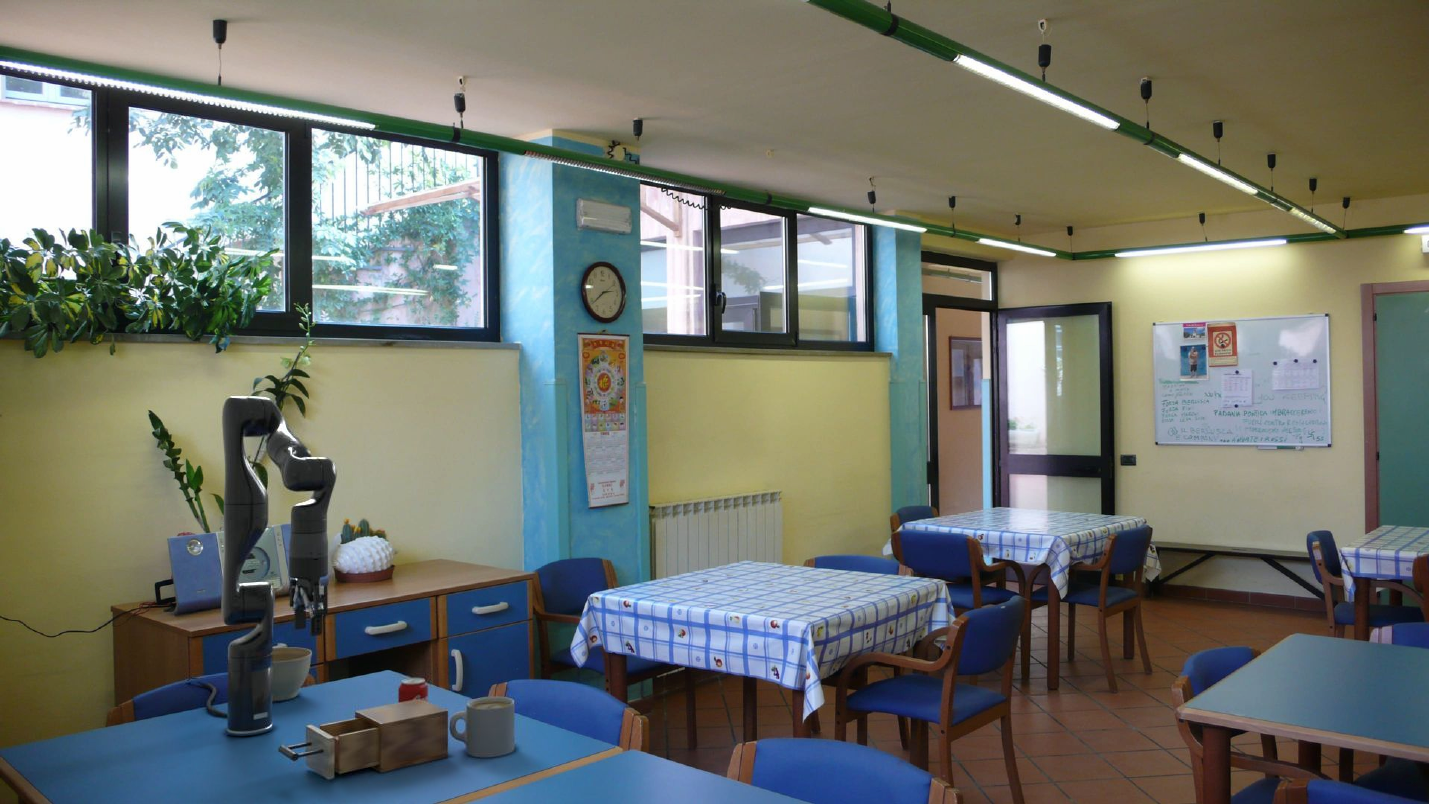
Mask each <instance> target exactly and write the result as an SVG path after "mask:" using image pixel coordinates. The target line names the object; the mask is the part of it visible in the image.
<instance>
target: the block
mask: <svg viewBox="0 0 1429 804" xmlns="http://www.w3.org/2000/svg"><path fill="white" fill-rule="evenodd" d="M334 761H336V762H337V763H338V736H335V746H334Z"/></svg>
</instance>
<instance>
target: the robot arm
mask: <svg viewBox="0 0 1429 804" xmlns="http://www.w3.org/2000/svg"><path fill="white" fill-rule="evenodd" d="M221 423H222V424H221V426H222V427H221V428H222V441H223V454H224V491H223V492H224V494H223V496H224V497H223V541H224V542H223V545H224V546H223V547H224V556H223V557H224V558H223V559H224V560H223V573H222V574H223V575H222V589H221V604H220V605H221V607H220V609H221V610H220V611H221V618H222V621H223V623H224V624H225V625H226V626H244V625H245V626H246V625H254V624H256V626H255V628H254V629H252V630H251V631H250V632H248V633H247V634H245V635H243V636H241V637H238V638H237V639H234V640H232V641H231V642H230V643H229V644H228V648H227V713H226V712H223V711H220V710H217V709H216V708H213V707H212V702H213V700H215V697H216V694H217V688H216V687H215V686H214V685H212V684H211V683H208V682H207V683H208V684H204V683H200V682H197V684H200V685H202V686H204V687H206V688H209V689H210V690H211V691H212V692H211V694H210V696H209V698H208V699H207V701H206V709H207V711H209V712H210V713H212V714H213V715H215V716H218V717H221V718H227V719H226V720H227V721H226V722H227V723H226V726H227V727H226V734H227V735H229V736H233V737H250V736H257V735H262V734H265V733H268V732H270V731H271V730H273V701H272V683H273V648H274V620H275V619H274V618H275V605H276V595H275V594H276V593H275V588H274V586H273V584H272V583H271V582H270V581H256V582H255V581H253V582H242V583H240V582H239V581H240V580H239V579H240V576H241V572H242V570H243V567H244V565H245V563H246V561H247V559H248V557H249V555H250V554H251V553H252V550H253V549H255V547H256V545H257V544H258V543H259V541H260V540H261V538H262V536H263V534H264V533H265V531H266V530H267V528H268V525H269V509H270V508H269V504H270V503H269V501H270V500H269V499H270V498H269V493H268V490H267V488H266V486H265V484H264V483H263V481H262V480H261V478H260V477H259V476H258V475H257V474H258V473H256V471H255V470H254V468H253V467H252V465H251V463H250V462H249V459H248V457H247V453H246V450H245V443H244V442H245V441H244V438H263V437H267V439H266V442H265V452H266V454H267V456H268V458H269V459H270V460H271V462H272V463H273V464H274V465H275V466H276V467H277V468H278V469H279V473H280V475H281V480H282V484H283V486H284V487H285V488H286V489H287V490H289V491H290V492H294V493H305V492H313V493H312V495H311V497H310V499H308V500H306V501H304V502H303V501H302V502H300V503H297V504H294V505H293V506H292V507H291V509H290V510H291V511H290V536H289V544H288V545H289V546H288V550H289V551H288V577H290V581H289V607H290V608H292V611H293V612H294V613H293V615H294V616H293V622H294V623H293V628H294V630H297V631H298V630H304V629H306V627H307V609H308V612H309V616H310V617H309V634H310V636H312V637H316V636H318V637H319V636H322V634H323V617H324V616H327V615H328V613H329V603H328V585H327V584H321V579H322V578H324V577H325V578H326V576H328V574H329V540H328V539H329V538H328V510H329V506H330V504H331V498H332V495H333V491H334V489H335V485H336V482H337V476H338V475H337V473H338V472H337V468H336V465H335V463H334V461H333V460H332V459H330V458H328V457H325V456H324V457H323V456H322V457H321V456H319V457H317V456H316V457H313V456H312V453H311V451H310V449H309V448H308V447H307V446H306V445H305V444H304V443H303V442H302V441H301V440H300V439H299V438H298V437H297V436H296V435H295V434H294V433H293V431H292V429H291V428H290V425H289V424H288V422H287V420H286V418H285V416H284V415H283V413H282V411H281V410H280V408H279V406H278V405H277V404H276V402H274V401H273V400H272V399H271V398H269V397H265V396H234V395H233V396H228V397H227V398H226V400H225V401H224V404H223V406H222V413H221ZM190 679H200V678H198V677H194V676H192V677H190V678H188V679H187V680H186V682H187V681H189V680H190Z"/></svg>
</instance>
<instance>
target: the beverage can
mask: <svg viewBox="0 0 1429 804" xmlns="http://www.w3.org/2000/svg"><path fill="white" fill-rule="evenodd" d="M397 692H398V693H397V695H398V698H397V699H398V702H397V703H400V702H405V701H410V700H416V699H422V700H424V701H427V702H429V699H428V698H429V686H428V684H427V683H426V680H425V678H422V677H409V678H404V679H402V680H401V684H400V685H399V686H398V691H397Z"/></svg>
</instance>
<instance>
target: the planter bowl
mask: <svg viewBox="0 0 1429 804" xmlns="http://www.w3.org/2000/svg"><path fill="white" fill-rule="evenodd" d="M312 656H313V651H312V650H311V649H308V648H304V647H295V646H293V647H290V646H289V647H273V683H272V702H281V701H288V700H290V699H291V700H292V699H293V698H295V697H297V696H298V693H299V690H300V689H301V687H302V686H303V685H304V683H305V682H306V679H307V677H308V674H309V671H310V669H311V662H312Z"/></svg>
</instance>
